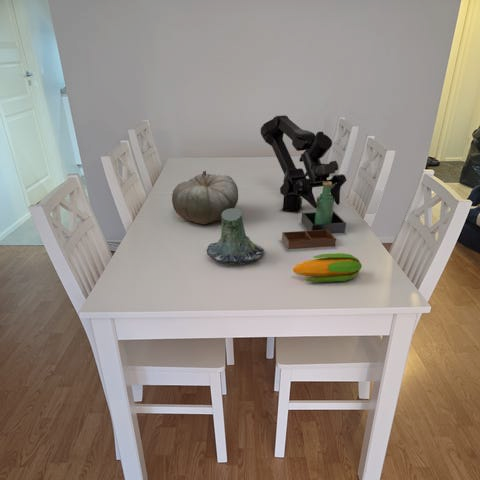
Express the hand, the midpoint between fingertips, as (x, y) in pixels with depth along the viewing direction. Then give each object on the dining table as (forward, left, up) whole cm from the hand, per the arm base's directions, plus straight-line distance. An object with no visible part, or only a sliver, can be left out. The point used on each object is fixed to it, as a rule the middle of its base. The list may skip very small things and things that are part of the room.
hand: (327, 206), depth 156 cm
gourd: (-44, -4, -9) cm, 46 cm away
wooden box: (-3, -14, -9) cm, 17 cm away
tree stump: (-22, -31, -9) cm, 39 cm away
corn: (+8, -37, -9) cm, 39 cm away
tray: (-1, +1, -9) cm, 9 cm away
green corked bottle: (-1, +1, -8) cm, 8 cm away
